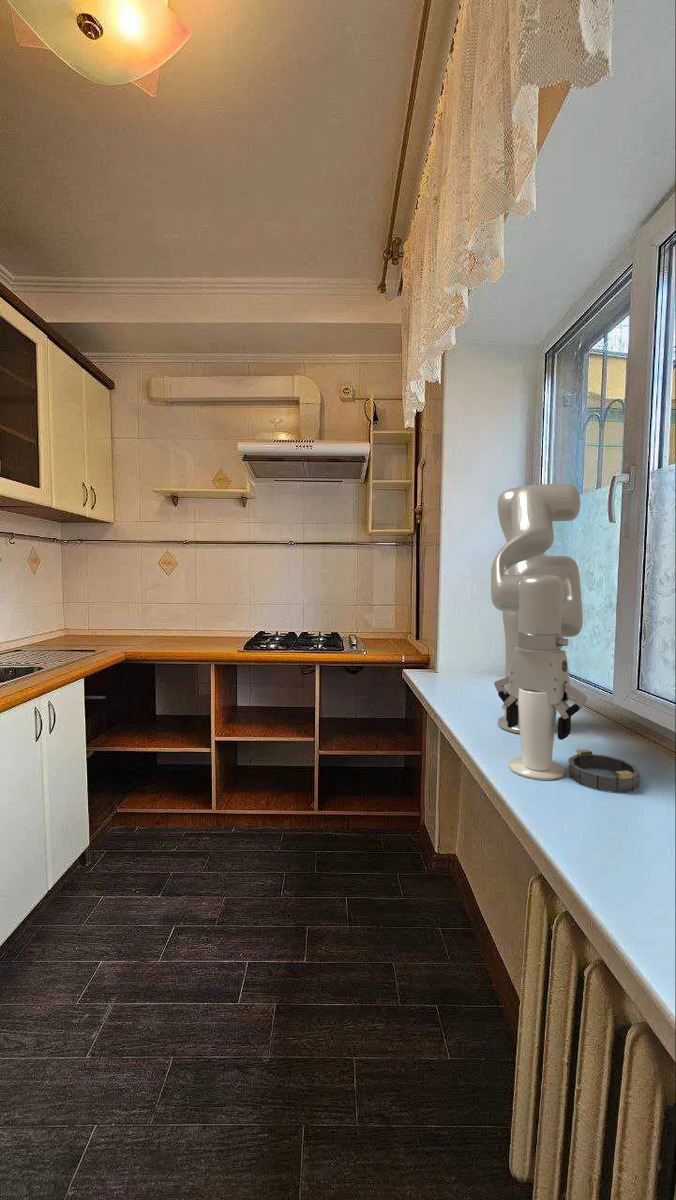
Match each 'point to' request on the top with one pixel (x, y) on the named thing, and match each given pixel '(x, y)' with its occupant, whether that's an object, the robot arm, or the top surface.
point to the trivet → (550, 774)
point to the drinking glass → (536, 729)
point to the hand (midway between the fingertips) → (537, 731)
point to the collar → (622, 782)
